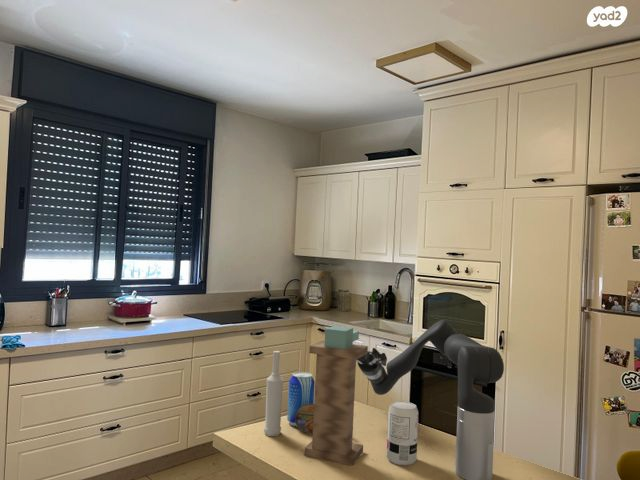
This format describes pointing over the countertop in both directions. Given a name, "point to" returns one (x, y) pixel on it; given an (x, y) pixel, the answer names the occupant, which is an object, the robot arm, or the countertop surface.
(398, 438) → the supplement can
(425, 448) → the countertop surface
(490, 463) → the robot arm
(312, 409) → the tin
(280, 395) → the bottle
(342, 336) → the mallet
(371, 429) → the countertop surface
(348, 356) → the stand
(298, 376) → the beer can
